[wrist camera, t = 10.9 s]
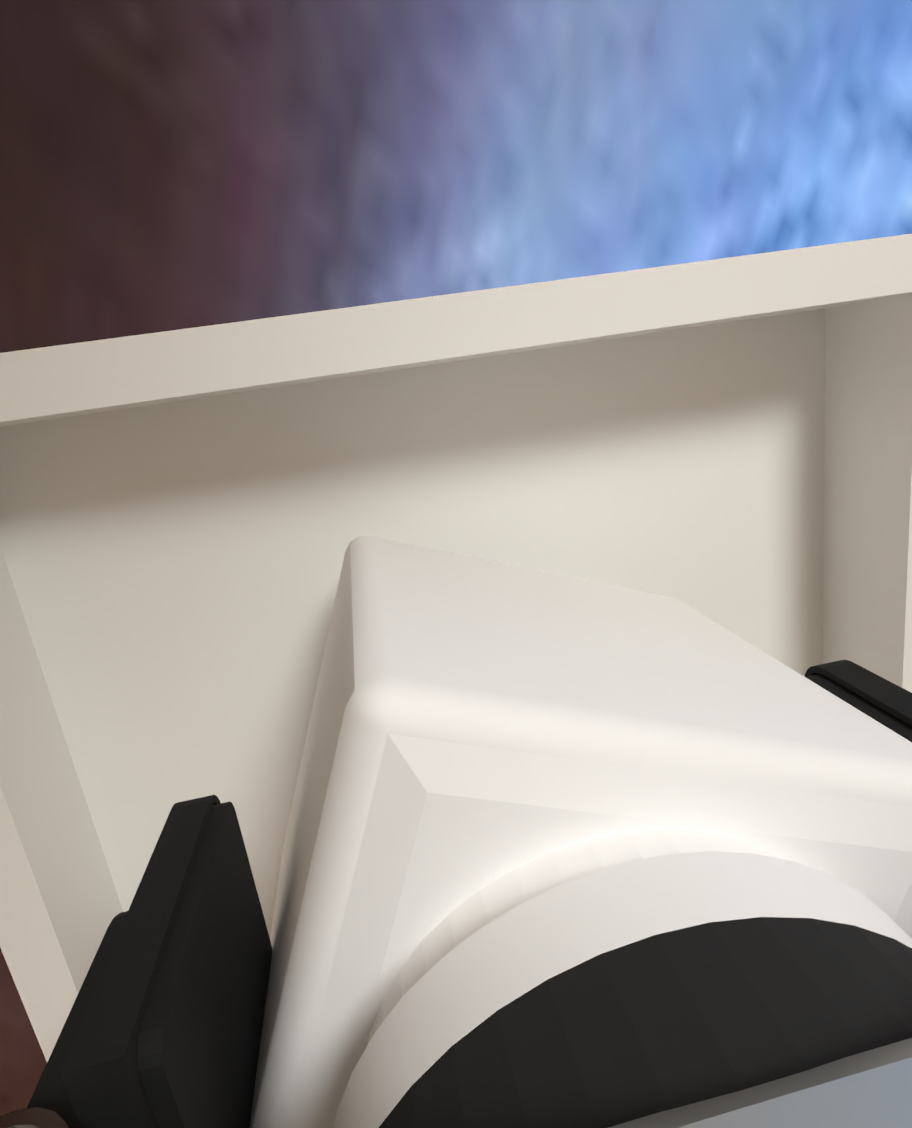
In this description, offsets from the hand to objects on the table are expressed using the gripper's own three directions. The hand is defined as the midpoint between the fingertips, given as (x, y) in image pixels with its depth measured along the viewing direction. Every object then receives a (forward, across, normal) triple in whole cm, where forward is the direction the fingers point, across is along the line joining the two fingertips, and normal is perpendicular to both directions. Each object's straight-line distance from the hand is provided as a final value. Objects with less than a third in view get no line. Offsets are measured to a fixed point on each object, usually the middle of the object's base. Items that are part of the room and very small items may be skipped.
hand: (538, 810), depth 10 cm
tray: (+6, 0, 0) cm, 6 cm away
